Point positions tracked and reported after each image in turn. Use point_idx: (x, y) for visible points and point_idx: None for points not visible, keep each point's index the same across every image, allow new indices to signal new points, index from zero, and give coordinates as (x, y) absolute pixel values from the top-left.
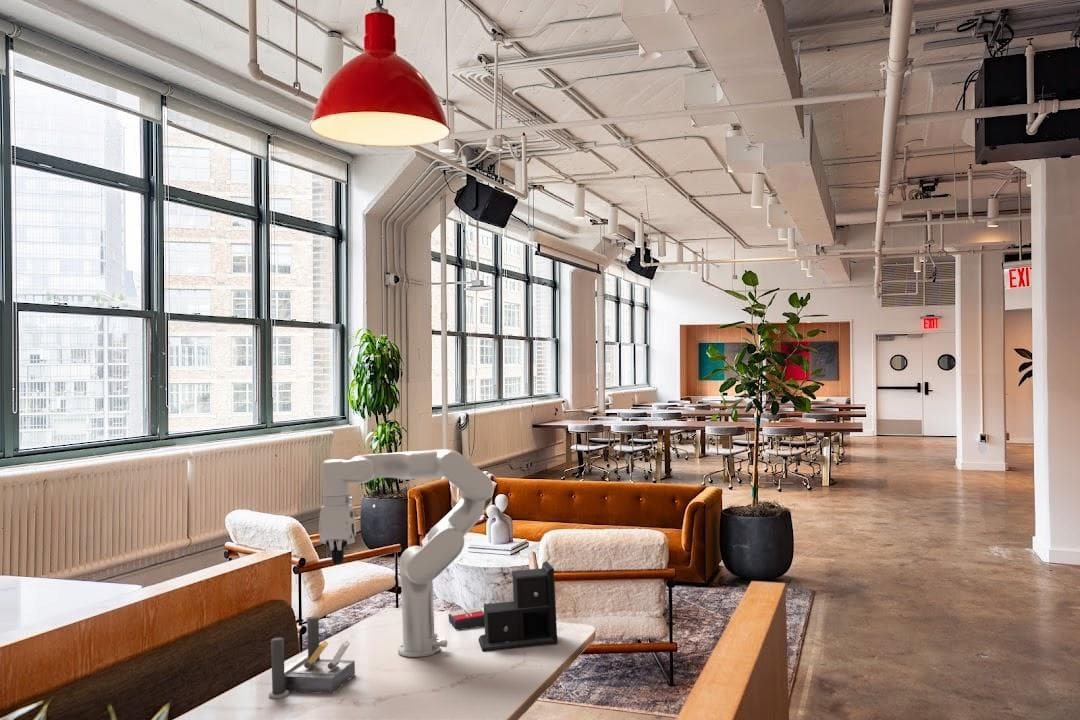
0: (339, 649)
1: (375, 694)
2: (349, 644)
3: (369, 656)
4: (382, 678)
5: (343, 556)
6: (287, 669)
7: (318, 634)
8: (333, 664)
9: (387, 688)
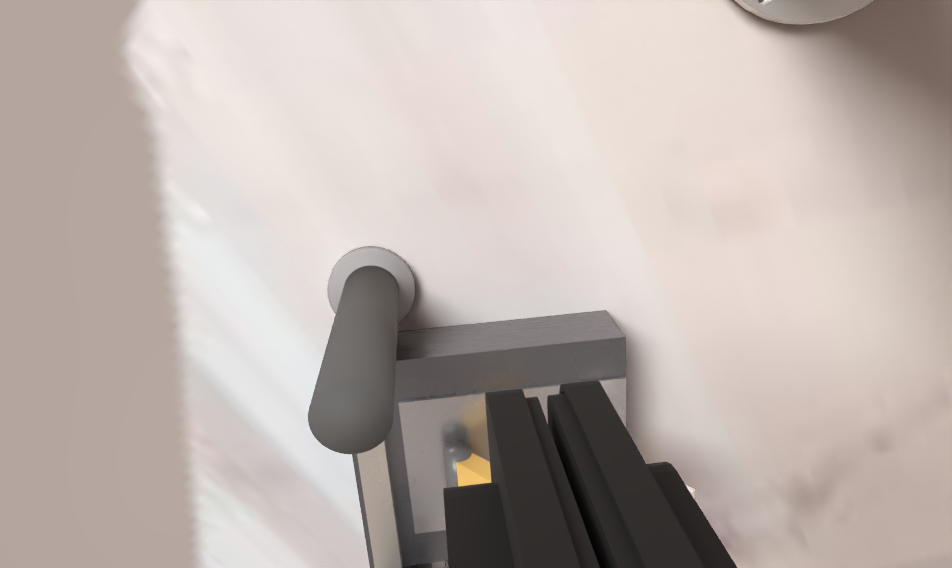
0: None
1: (773, 468)
2: (688, 488)
3: (559, 45)
4: (744, 319)
5: (689, 499)
6: (388, 539)
7: (395, 357)
8: None
9: (800, 409)
